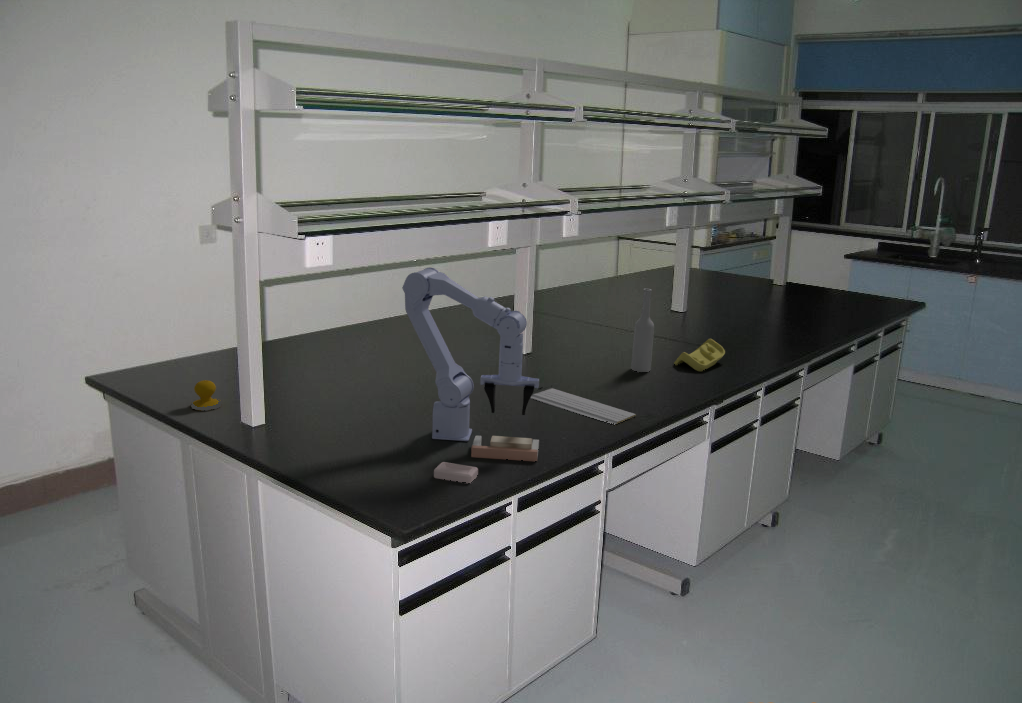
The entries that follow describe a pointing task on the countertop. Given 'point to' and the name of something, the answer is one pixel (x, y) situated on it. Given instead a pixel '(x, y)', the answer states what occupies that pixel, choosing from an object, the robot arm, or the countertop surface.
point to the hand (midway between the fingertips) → (508, 412)
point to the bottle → (643, 337)
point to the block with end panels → (504, 451)
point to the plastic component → (703, 356)
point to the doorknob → (205, 393)
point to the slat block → (511, 442)
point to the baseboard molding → (582, 406)
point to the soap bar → (456, 472)
